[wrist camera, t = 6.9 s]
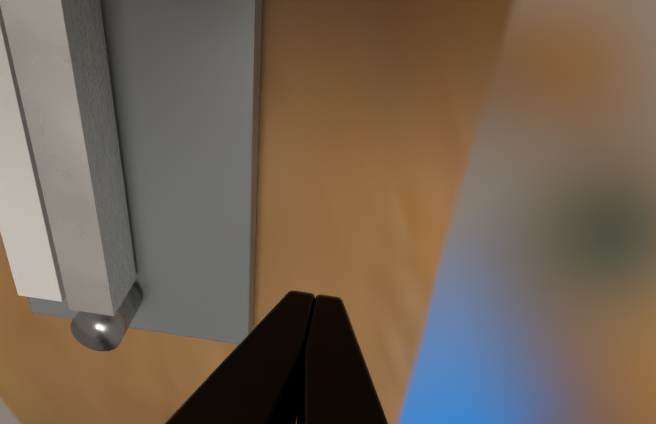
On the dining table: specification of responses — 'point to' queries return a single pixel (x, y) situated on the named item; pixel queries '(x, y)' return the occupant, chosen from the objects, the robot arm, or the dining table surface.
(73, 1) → the tong arm
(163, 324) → the grey flat piece
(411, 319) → the dining table surface
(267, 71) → the dining table surface
